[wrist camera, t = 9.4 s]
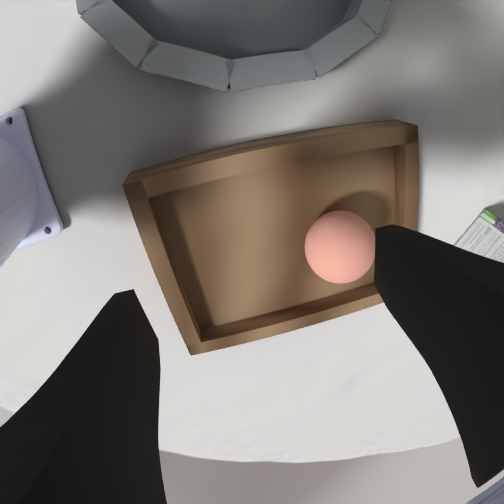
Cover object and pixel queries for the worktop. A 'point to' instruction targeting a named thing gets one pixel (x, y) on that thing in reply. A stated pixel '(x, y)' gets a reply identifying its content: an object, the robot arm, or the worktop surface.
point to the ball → (340, 247)
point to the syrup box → (485, 237)
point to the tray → (268, 226)
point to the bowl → (236, 37)
